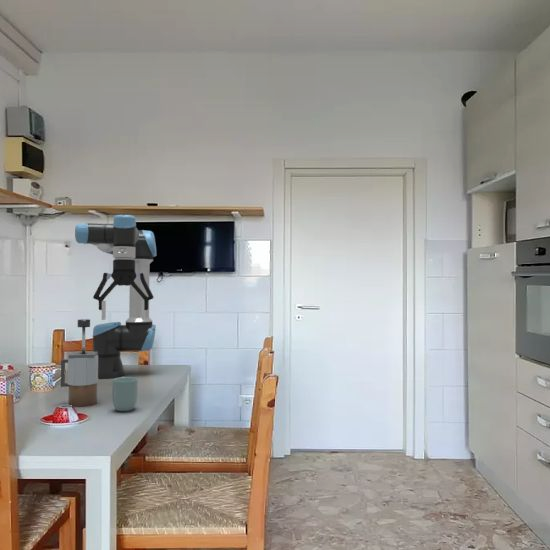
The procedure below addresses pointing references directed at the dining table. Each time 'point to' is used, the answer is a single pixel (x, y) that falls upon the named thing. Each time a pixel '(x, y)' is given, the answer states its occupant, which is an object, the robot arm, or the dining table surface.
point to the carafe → (81, 378)
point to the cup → (124, 393)
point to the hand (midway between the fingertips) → (123, 319)
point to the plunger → (83, 331)
